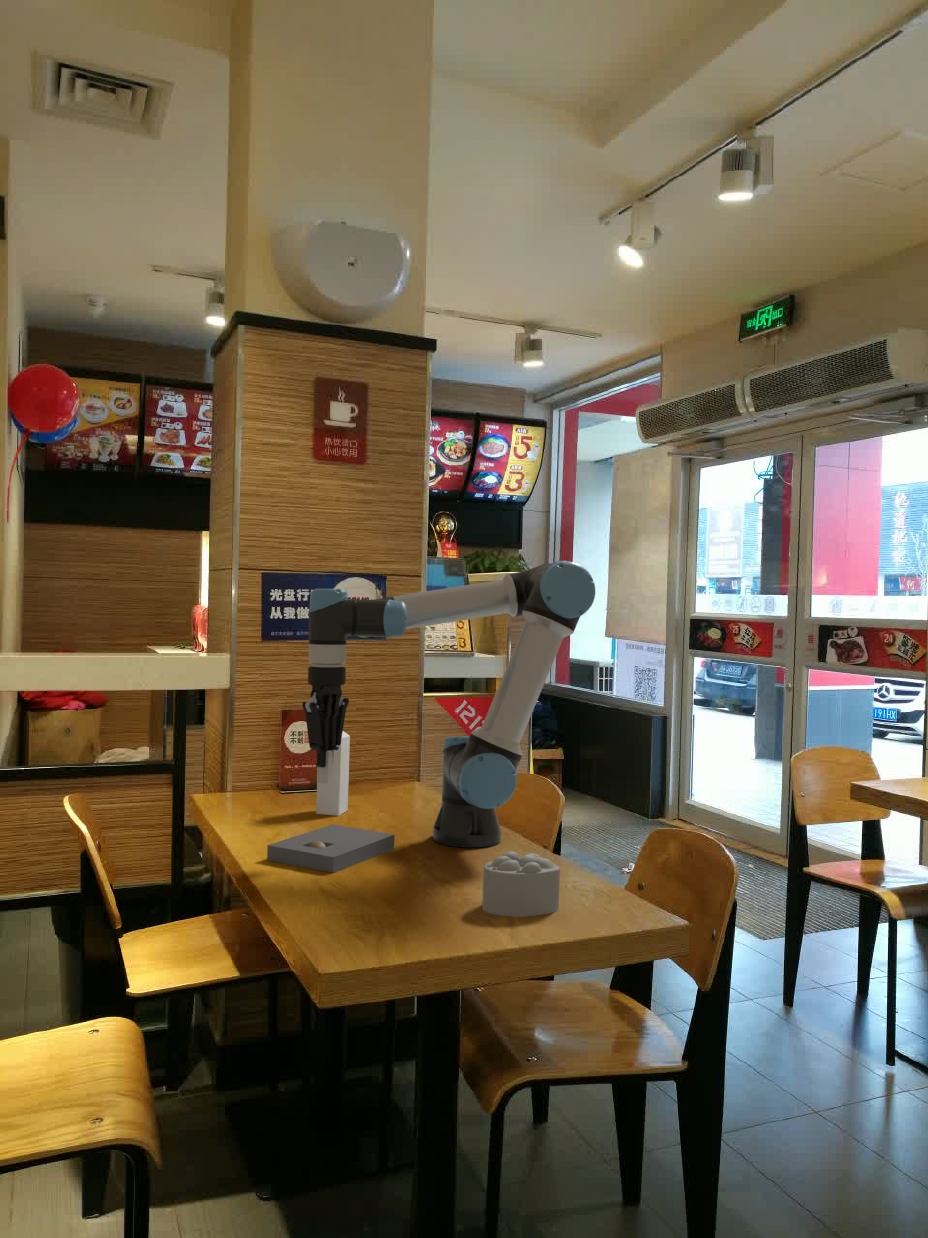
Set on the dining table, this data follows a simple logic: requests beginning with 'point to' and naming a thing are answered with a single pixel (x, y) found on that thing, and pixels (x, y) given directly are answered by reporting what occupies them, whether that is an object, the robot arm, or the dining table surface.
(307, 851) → the pocket board
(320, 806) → the milk
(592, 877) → the dining table surface
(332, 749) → the robot arm
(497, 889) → the lumpy-topped squat cylinder
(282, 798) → the dining table surface
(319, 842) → the wooden ball
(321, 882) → the dining table surface
